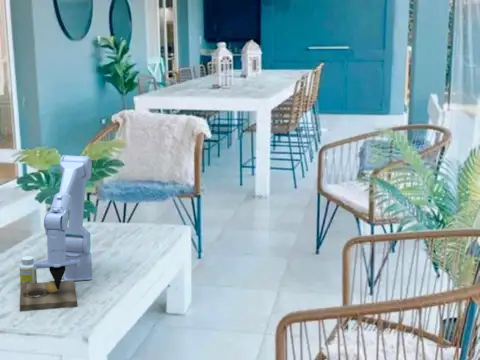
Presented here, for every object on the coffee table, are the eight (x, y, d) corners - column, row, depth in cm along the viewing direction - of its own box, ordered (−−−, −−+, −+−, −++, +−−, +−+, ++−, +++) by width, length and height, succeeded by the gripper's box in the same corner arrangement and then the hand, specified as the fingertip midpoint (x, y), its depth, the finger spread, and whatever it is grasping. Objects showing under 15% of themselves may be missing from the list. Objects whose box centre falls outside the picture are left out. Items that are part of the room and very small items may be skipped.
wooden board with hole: (73, 285, 227) (73, 280, 227) (77, 306, 211) (77, 300, 210) (20, 289, 222) (20, 284, 222) (19, 311, 206) (19, 305, 205)
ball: (58, 278, 218) (46, 278, 216) (60, 283, 214) (47, 283, 213) (57, 289, 219) (44, 289, 217) (58, 294, 215) (46, 295, 214)
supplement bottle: (31, 280, 230) (30, 254, 228) (39, 284, 227) (39, 257, 225) (17, 284, 226) (16, 257, 224) (26, 288, 223) (25, 261, 221)
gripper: (33, 253, 207) (34, 294, 210) (80, 250, 212) (80, 290, 214) (33, 247, 214) (34, 286, 217) (78, 244, 218) (79, 283, 221)
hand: (57, 288), depth 216 cm, fingers closed, pressing on ball
